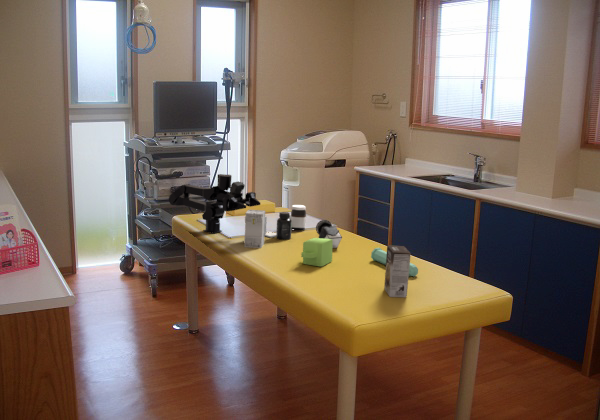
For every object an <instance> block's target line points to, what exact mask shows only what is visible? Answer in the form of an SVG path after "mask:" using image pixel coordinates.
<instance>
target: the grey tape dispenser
mask: <svg viewBox="0 0 600 420" xmlns="http://www.w3.org/2000/svg"><path fill="white" fill-rule="evenodd" d="M315 230H316V233H317V235H318V238H324V239H332V240H333V244H332V249H338V247H339V245H340V243H341V240H342V238H343V236H342V234H341V233H340V230H339V229H338V228H337V226H336V225H333V224H332V223H331V222H330V221H329V220H327V219H321V220H319V222H317V224H316V226H315Z"/></svg>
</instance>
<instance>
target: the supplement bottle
mask: <svg viewBox="0 0 600 420" xmlns="http://www.w3.org/2000/svg"><path fill="white" fill-rule="evenodd" d="M278 214H279V215H278V217H279V218H277V220H276V231H275V232H276V237H275V238H277V240H280V241H288V240H291V237H292V229H291V226H292V220H291V219H290V218H289V217H290V214H291V212H287V211H281V212H279V213H278Z"/></svg>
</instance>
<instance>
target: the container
mask: <svg viewBox="0 0 600 420" xmlns="http://www.w3.org/2000/svg"><path fill="white" fill-rule="evenodd" d="M370 255H371V256H370V258H371V260H373V261H374V262H375V261H376V262H378V263H380V264H381V265H382V264H383V265H385V266H386V257H387V251H385V250H383V249H382V248H381V247H375V248H373V250H372V251H371V254H370ZM418 273H419V268H418V267H417V265H416V264H414V263H412V262H410V267H409V277H410V276H413V277H416V276H417V274H418Z"/></svg>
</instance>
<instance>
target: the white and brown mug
mask: <svg viewBox="0 0 600 420" xmlns="http://www.w3.org/2000/svg"><path fill="white" fill-rule="evenodd" d="M306 208H307V207H306V205H303V204H293V205H291V211H290V217H289V218H290V219H291V220H292V226H291V230H292V229H294V230H293V231H295V230H303V231H305V230H306V228H307V224H306V223H307V209H306Z"/></svg>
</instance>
